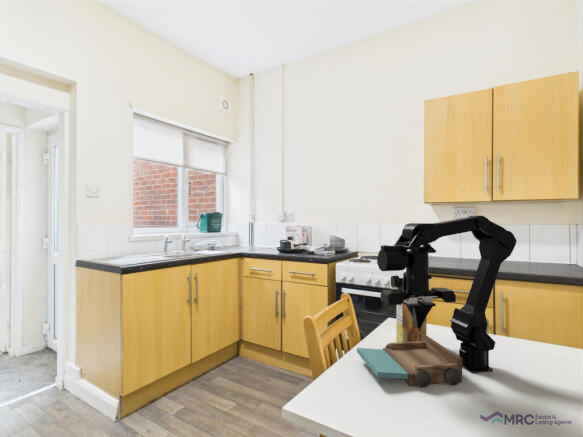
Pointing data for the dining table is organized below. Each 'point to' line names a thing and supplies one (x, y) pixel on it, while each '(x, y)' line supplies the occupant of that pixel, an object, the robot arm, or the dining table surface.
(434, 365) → the cart bed
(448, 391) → the dining table surface
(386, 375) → the panel
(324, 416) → the dining table surface
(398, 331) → the candy box
